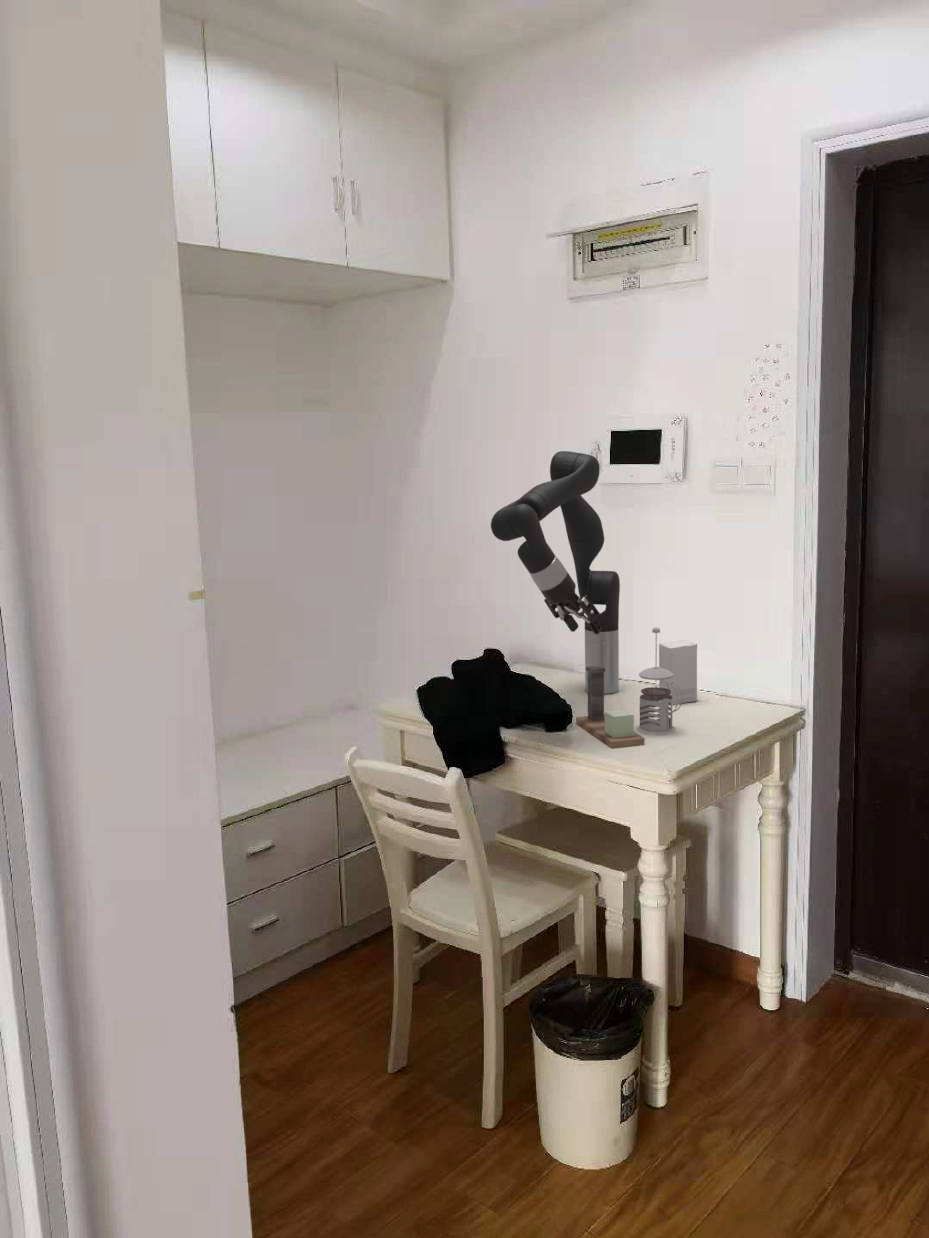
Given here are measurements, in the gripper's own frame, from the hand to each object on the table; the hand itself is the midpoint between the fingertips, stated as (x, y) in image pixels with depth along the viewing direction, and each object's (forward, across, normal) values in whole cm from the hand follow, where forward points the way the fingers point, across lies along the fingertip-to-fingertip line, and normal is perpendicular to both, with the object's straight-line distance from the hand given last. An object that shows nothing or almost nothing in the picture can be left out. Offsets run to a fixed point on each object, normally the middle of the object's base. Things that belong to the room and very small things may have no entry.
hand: (586, 630), depth 245 cm
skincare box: (+42, +10, -16) cm, 46 cm away
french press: (+29, -7, +3) cm, 30 cm away
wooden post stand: (+22, -2, +12) cm, 25 cm away
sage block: (+20, -8, +13) cm, 25 cm away
